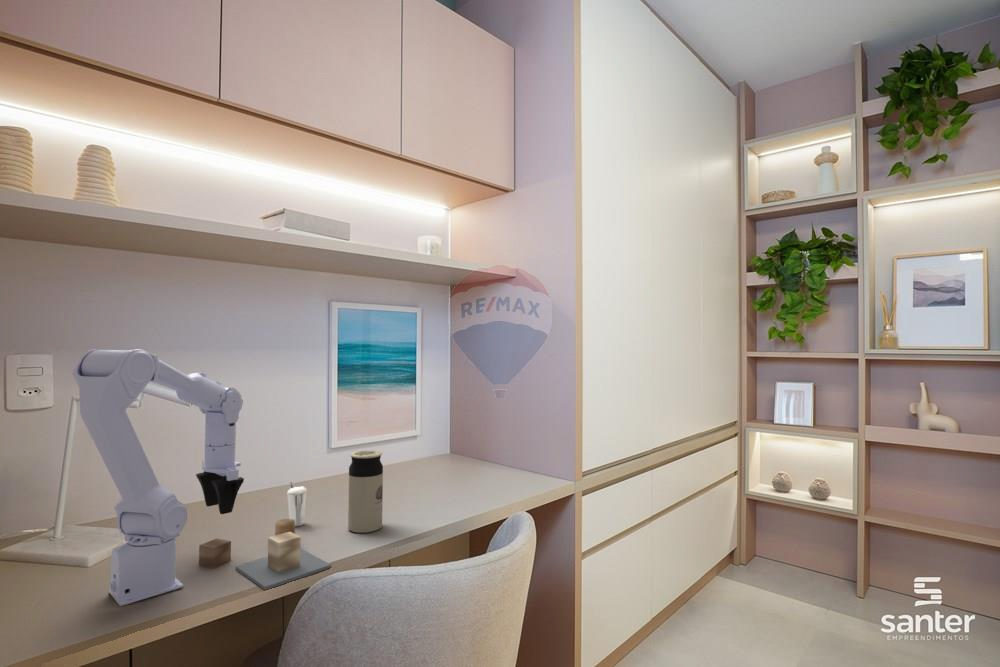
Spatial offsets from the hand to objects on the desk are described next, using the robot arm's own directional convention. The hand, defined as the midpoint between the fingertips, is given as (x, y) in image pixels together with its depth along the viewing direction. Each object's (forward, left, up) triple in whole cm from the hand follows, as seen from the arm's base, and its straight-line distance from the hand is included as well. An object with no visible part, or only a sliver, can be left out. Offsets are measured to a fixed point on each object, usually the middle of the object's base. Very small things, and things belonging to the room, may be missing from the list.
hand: (218, 509), depth 109 cm
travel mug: (+30, -9, -10) cm, 33 cm away
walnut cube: (-2, -4, -10) cm, 10 cm away
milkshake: (+20, +6, -10) cm, 23 cm away
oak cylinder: (+12, -5, -9) cm, 16 cm away
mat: (+6, -17, -9) cm, 20 cm away
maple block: (+6, -17, -9) cm, 20 cm away
